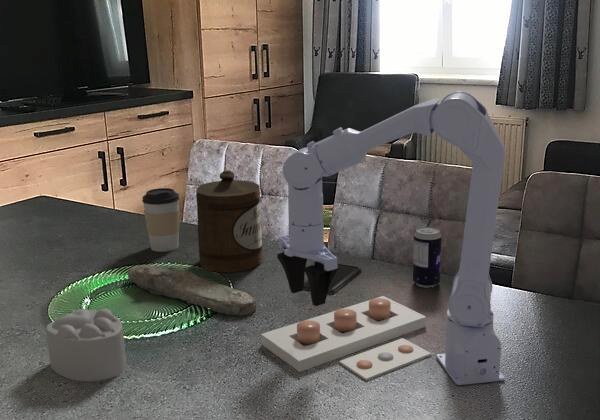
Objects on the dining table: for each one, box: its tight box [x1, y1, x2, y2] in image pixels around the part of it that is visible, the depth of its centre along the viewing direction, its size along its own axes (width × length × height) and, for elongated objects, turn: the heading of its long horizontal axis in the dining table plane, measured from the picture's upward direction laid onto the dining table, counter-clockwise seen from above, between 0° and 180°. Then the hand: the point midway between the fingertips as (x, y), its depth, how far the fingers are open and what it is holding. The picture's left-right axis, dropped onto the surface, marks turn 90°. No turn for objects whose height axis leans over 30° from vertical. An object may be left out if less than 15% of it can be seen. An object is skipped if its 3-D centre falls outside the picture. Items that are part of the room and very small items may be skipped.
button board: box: [260, 295, 427, 373], centre depth 123 cm, size 28×12×2 cm, turn 124°
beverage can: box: [412, 226, 442, 289], centre depth 143 cm, size 6×6×12 cm
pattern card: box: [338, 337, 432, 382], centre depth 114 cm, size 14×7×1 cm, turn 124°
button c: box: [297, 319, 320, 345], centre depth 118 cm, size 4×4×2 cm
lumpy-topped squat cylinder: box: [45, 308, 127, 382], centre depth 114 cm, size 10×13×9 cm
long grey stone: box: [127, 264, 257, 317], centre depth 142 cm, size 35×5×10 cm
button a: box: [369, 297, 391, 321], centre depth 126 cm, size 4×4×2 cm
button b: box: [334, 308, 357, 332], centre depth 122 cm, size 4×4×2 cm
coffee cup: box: [141, 187, 180, 253], centre depth 170 cm, size 9×9×15 cm
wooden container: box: [195, 170, 263, 273], centre depth 158 cm, size 15×15×22 cm
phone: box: [303, 263, 362, 295], centre depth 149 cm, size 8×1×15 cm
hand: (307, 297), depth 116 cm, fingers open, 6 cm apart
